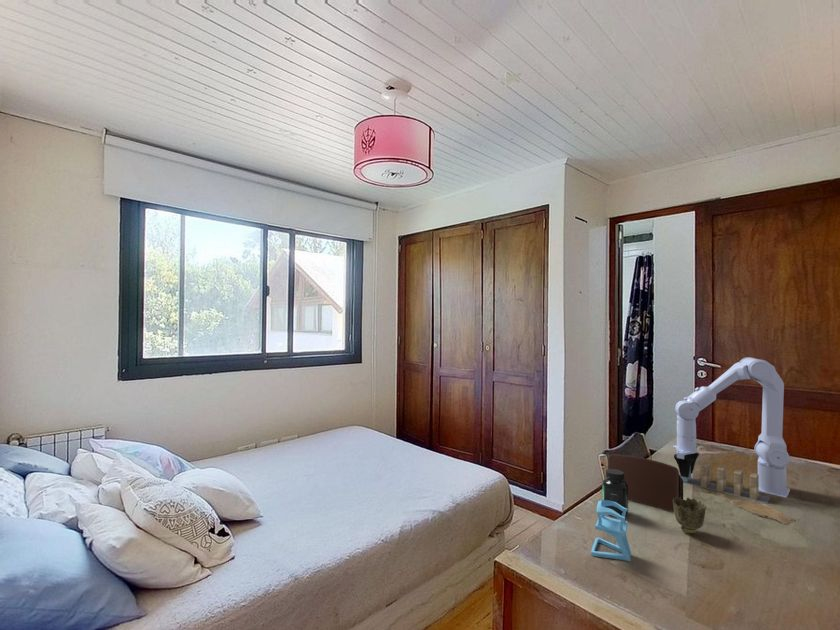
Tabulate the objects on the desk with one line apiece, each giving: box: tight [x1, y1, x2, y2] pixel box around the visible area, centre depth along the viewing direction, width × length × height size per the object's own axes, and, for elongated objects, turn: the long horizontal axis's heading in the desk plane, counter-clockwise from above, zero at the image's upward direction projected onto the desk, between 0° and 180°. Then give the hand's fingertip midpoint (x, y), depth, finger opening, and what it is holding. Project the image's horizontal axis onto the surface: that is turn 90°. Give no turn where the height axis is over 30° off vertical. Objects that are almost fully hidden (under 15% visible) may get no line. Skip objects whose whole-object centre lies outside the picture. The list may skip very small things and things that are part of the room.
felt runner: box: [680, 475, 771, 505], centre depth 137 cm, size 7×26×1 cm, turn 43°
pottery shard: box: [730, 499, 797, 526], centre depth 120 cm, size 8×16×2 cm, turn 13°
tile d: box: [748, 472, 760, 501], centre depth 129 cm, size 2×5×7 cm, turn 132°
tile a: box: [700, 462, 711, 489], centre depth 139 cm, size 2×5×7 cm, turn 132°
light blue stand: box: [590, 499, 632, 562], centre depth 99 cm, size 8×8×12 cm
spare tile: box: [682, 466, 692, 482], centre depth 143 cm, size 2×5×7 cm, turn 132°
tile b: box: [716, 465, 727, 493], centre depth 136 cm, size 2×5×7 cm, turn 132°
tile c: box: [733, 469, 744, 497], centre depth 132 cm, size 2×5×7 cm, turn 133°
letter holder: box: [607, 453, 684, 513], centre depth 130 cm, size 10×20×14 cm, turn 50°
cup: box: [673, 496, 707, 536], centre depth 109 cm, size 8×7×8 cm
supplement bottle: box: [601, 468, 629, 518], centre depth 120 cm, size 7×7×12 cm
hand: (686, 474), depth 143 cm, fingers closed on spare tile, 4 cm apart
